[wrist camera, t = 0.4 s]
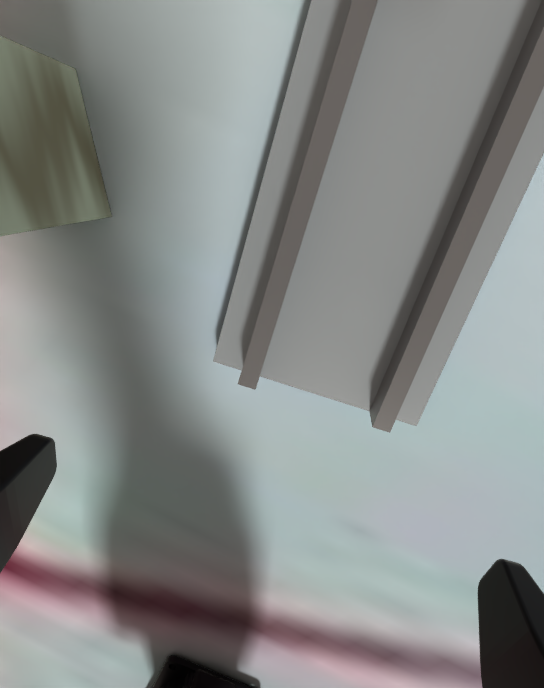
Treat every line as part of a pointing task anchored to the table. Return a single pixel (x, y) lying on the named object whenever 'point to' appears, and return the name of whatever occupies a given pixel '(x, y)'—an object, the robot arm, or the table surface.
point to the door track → (386, 196)
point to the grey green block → (45, 145)
